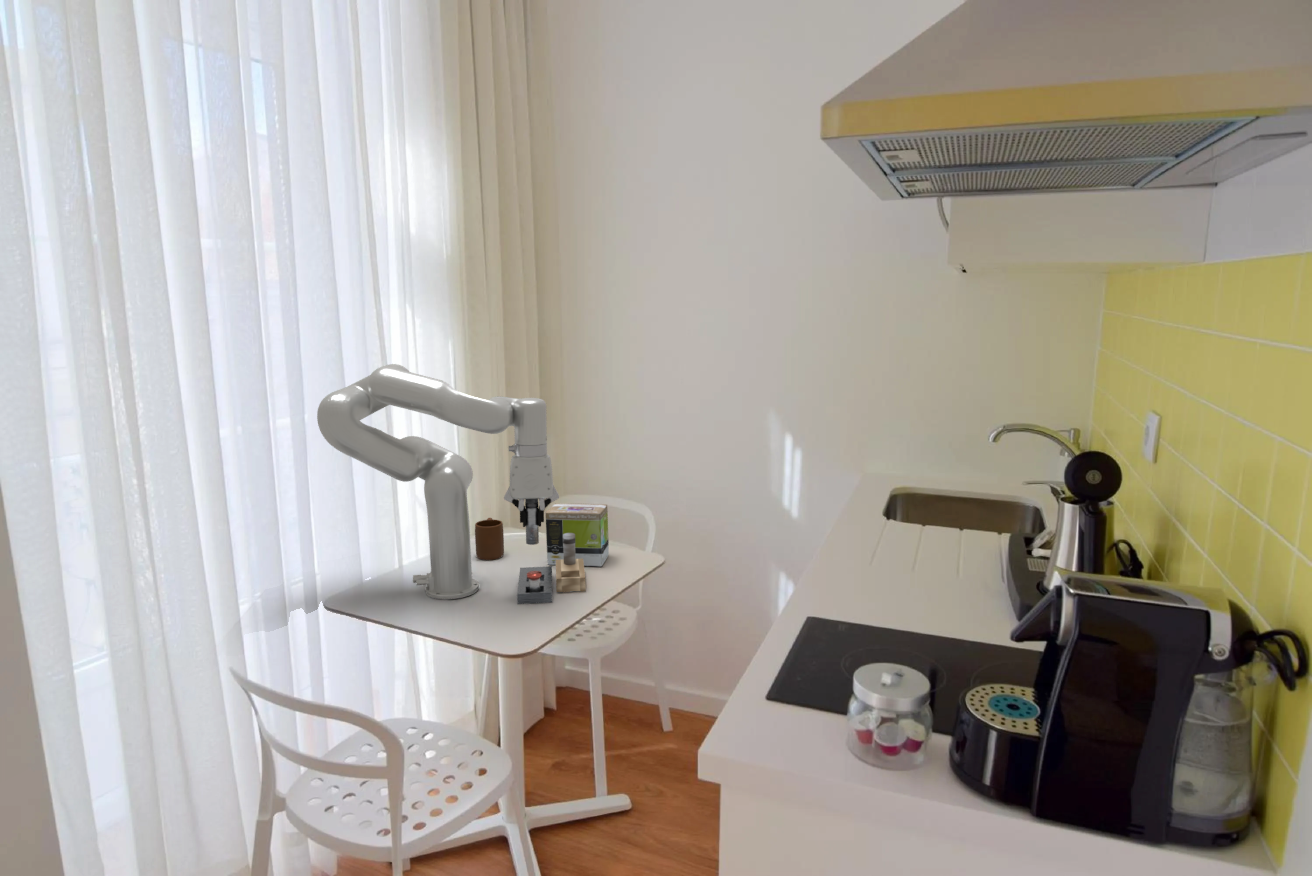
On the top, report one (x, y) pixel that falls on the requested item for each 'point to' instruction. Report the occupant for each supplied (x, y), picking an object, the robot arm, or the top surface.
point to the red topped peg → (534, 581)
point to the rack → (570, 568)
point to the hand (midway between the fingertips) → (532, 524)
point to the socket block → (545, 586)
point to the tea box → (578, 532)
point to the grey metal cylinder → (532, 521)
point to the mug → (489, 539)
